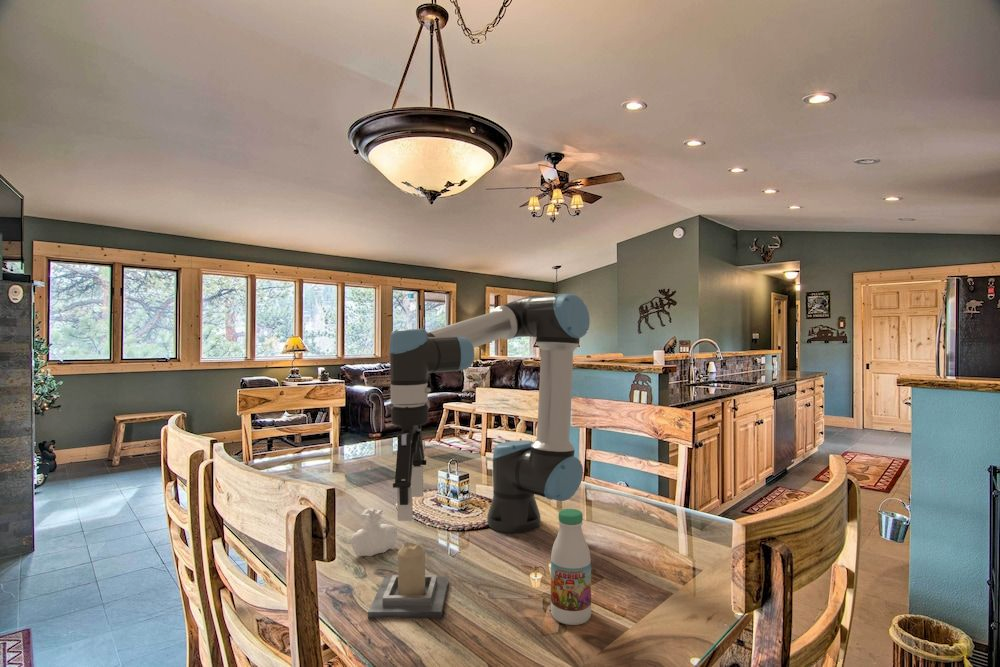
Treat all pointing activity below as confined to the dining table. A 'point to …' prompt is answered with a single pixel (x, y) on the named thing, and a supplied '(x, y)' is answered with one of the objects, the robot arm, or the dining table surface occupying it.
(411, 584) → the candle
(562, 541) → the milk bottle
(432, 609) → the plate
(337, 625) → the dining table surface
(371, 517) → the white animal figurine
